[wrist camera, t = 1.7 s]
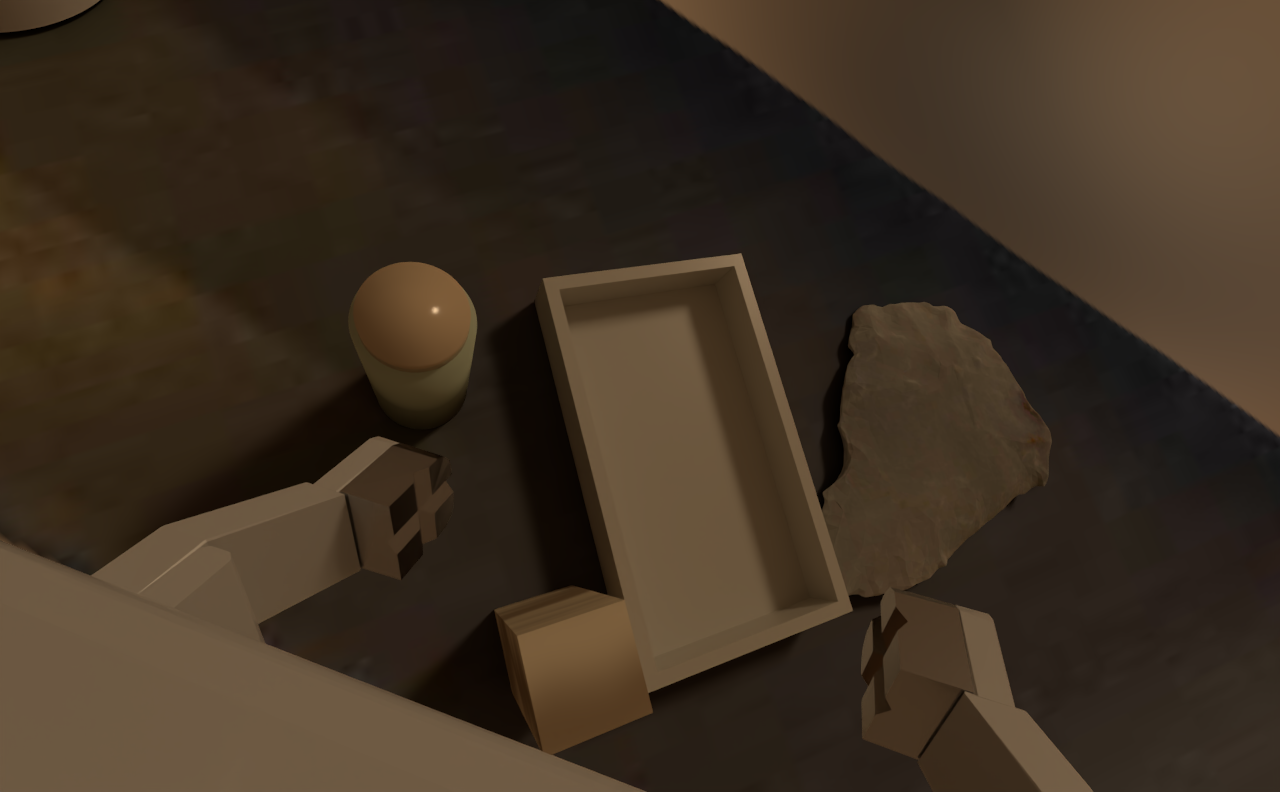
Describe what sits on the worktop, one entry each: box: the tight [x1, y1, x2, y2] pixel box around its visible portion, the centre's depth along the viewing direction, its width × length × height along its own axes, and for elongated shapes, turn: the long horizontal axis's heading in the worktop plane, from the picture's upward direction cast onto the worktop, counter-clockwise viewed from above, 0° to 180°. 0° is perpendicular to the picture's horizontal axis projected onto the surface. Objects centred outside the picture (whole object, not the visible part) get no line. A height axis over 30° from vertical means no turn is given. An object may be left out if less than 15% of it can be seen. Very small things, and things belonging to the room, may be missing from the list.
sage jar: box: [348, 262, 477, 430], centre depth 29 cm, size 5×5×12 cm
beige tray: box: [534, 254, 853, 693], centre depth 37 cm, size 24×14×4 cm, turn 16°
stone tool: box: [822, 302, 1052, 597], centre depth 43 cm, size 20×3×25 cm
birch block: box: [494, 585, 653, 755], centre depth 29 cm, size 4×4×11 cm
